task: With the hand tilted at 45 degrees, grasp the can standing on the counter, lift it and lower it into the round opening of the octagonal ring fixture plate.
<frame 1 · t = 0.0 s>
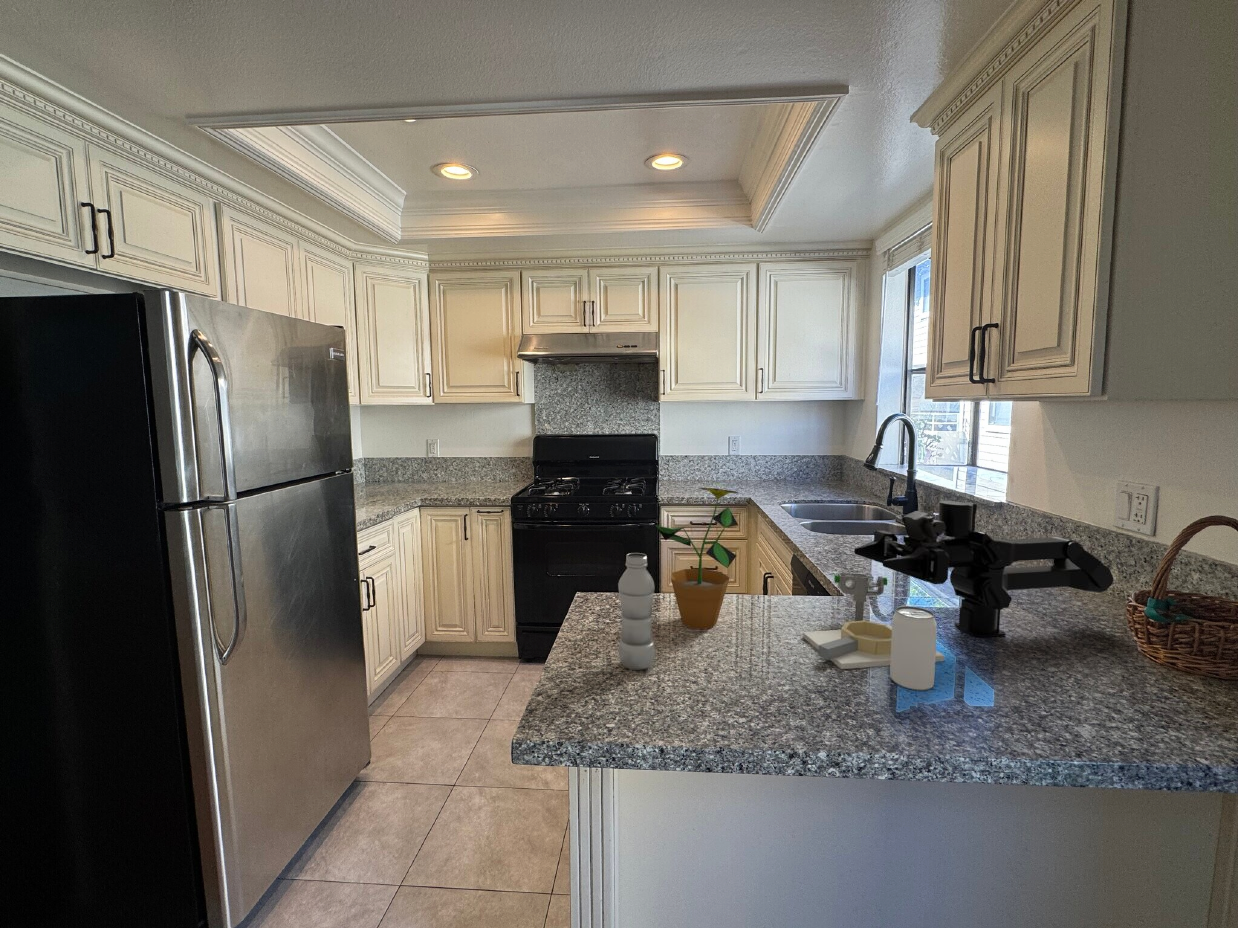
hand: (868, 557, 106), 17 cm above the countertop, tool horizontal, fingers open, 9 cm apart
potted plant: (699, 622, 117), on the countertop
can: (911, 682, 91), on the countertop
mechanical component: (858, 621, 117), on the countertop
plastic bottle: (636, 666, 97), on the countertop
octagonal ring fixture plate: (869, 648, 104), on the countertop
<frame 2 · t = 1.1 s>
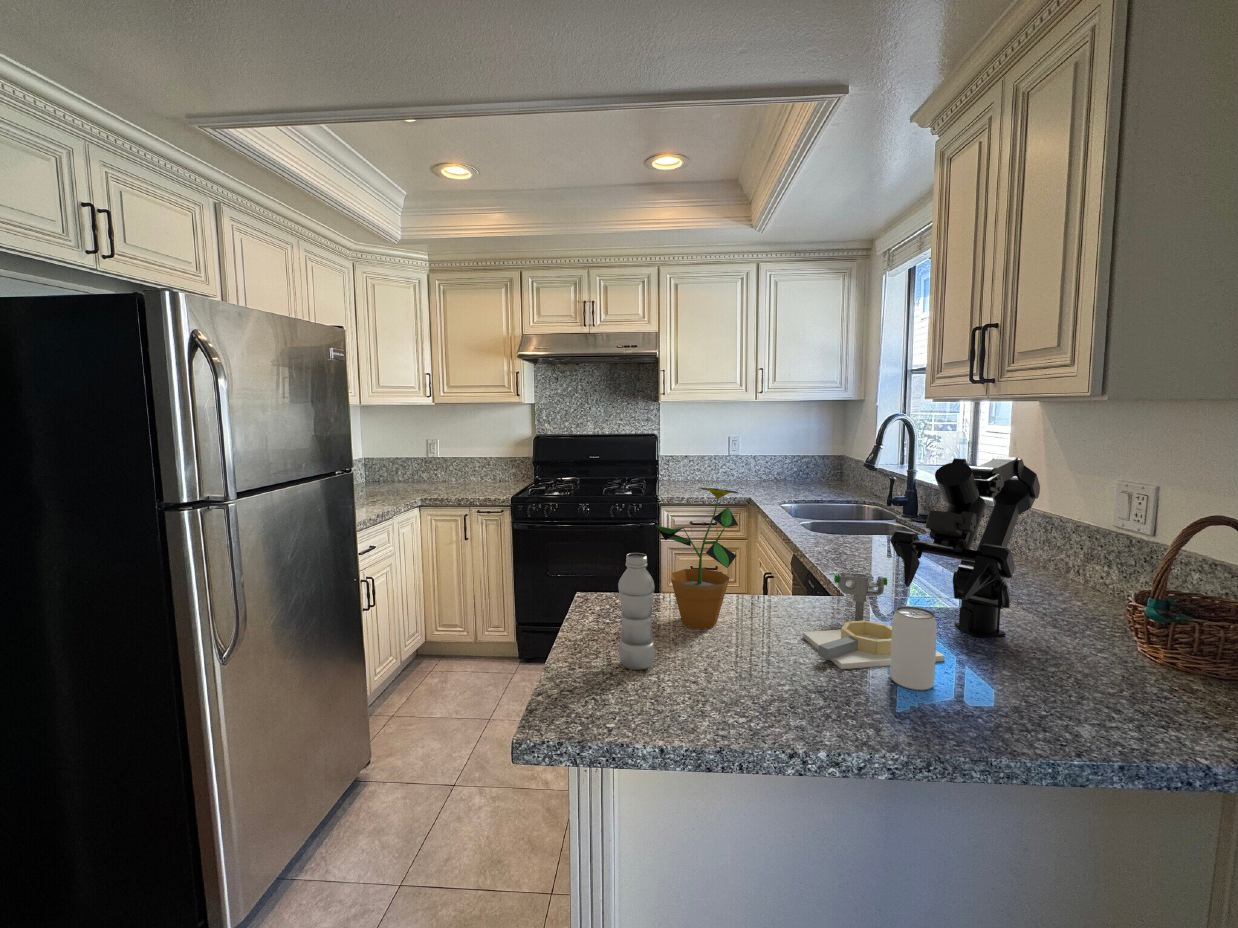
hand: (934, 591, 95), 14 cm above the countertop, tool tilted 45°, fingers open, 9 cm apart
nothing on the countertop moved.
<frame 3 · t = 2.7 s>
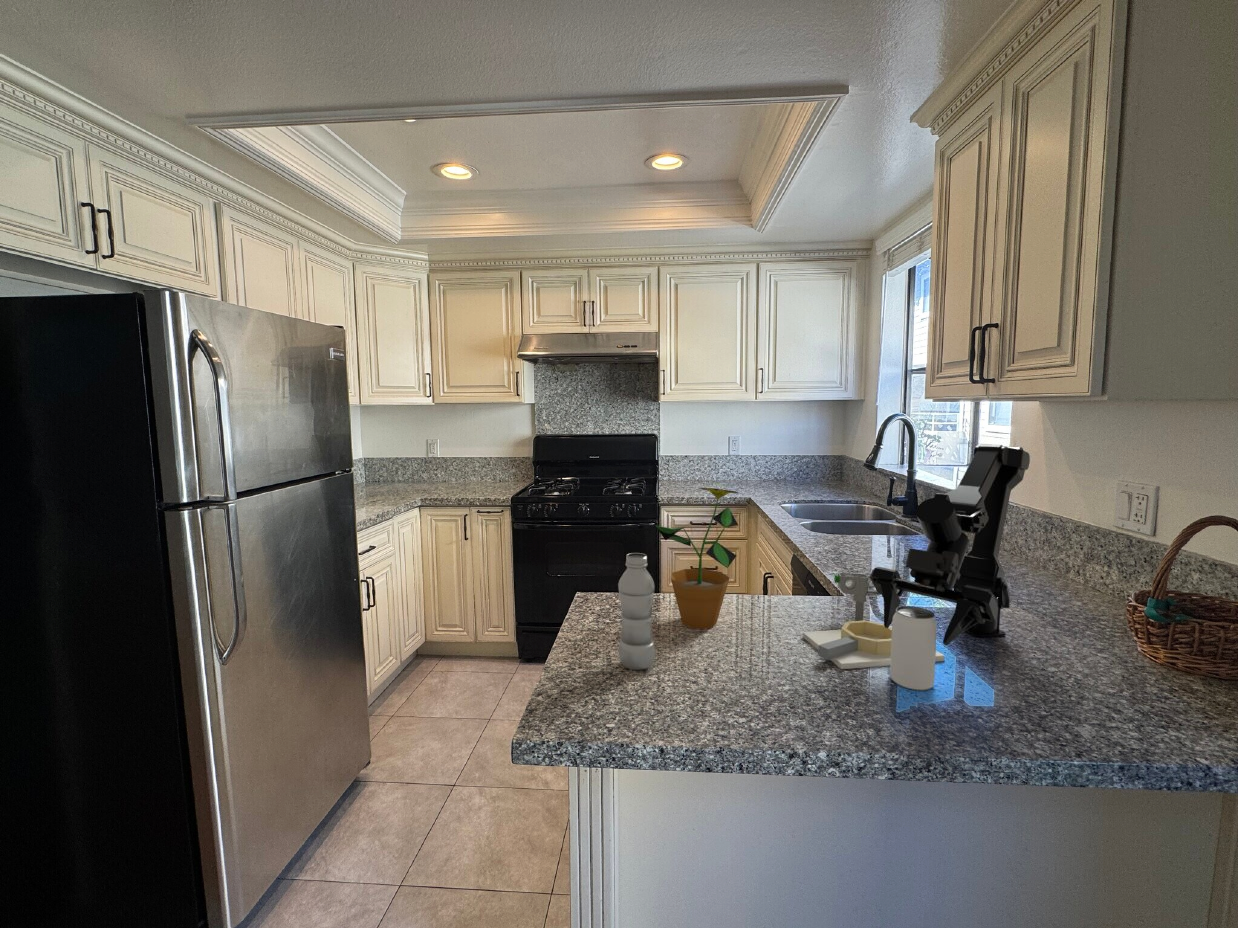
hand: (914, 635, 90), 8 cm above the countertop, tool tilted 45°, fingers open, 9 cm apart
nothing on the countertop moved.
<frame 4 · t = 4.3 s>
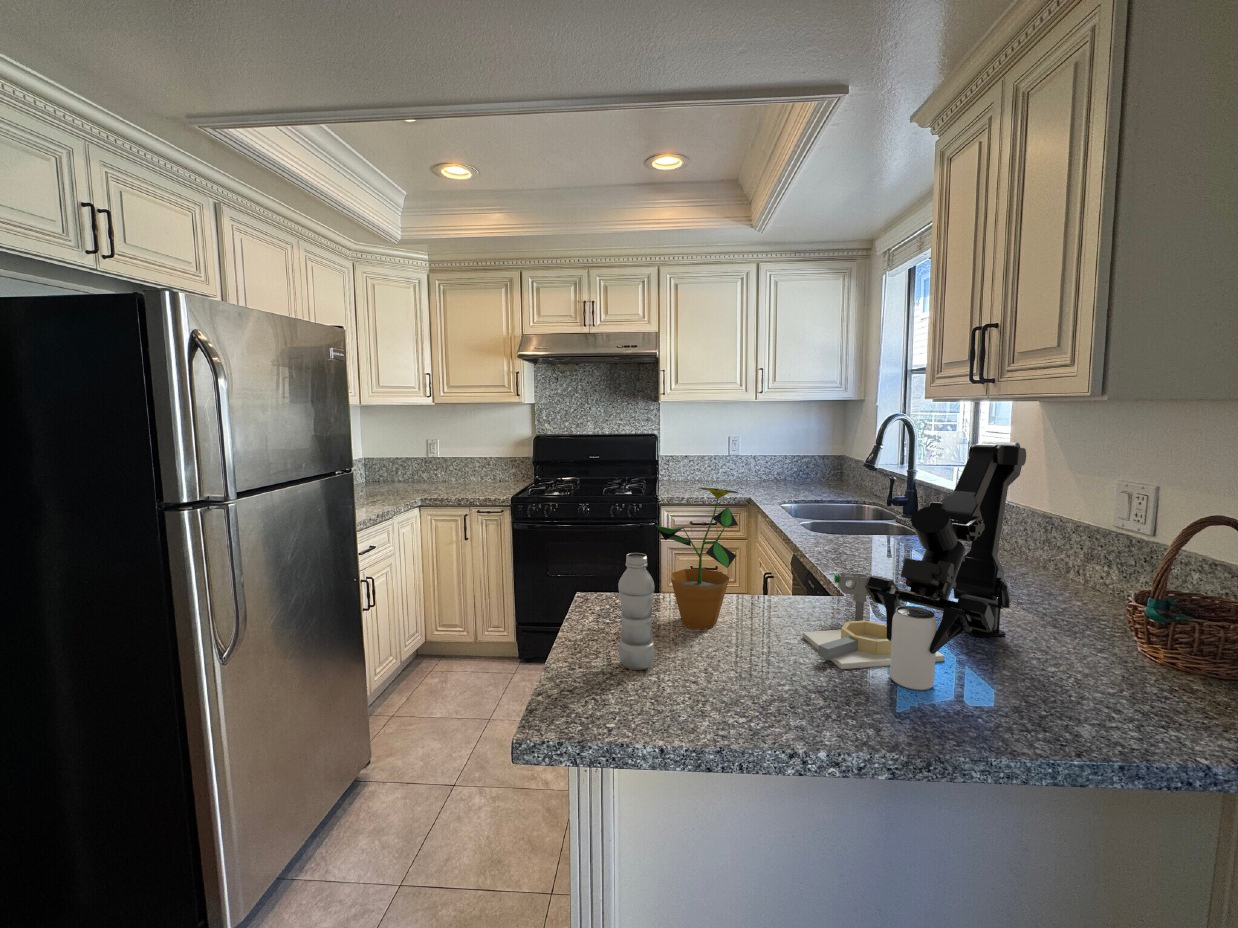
hand: (909, 645, 89), 7 cm above the countertop, tool tilted 45°, fingers closed on can, 6 cm apart
can: (911, 682, 91), on the countertop, touching gripper
everything else where it was.
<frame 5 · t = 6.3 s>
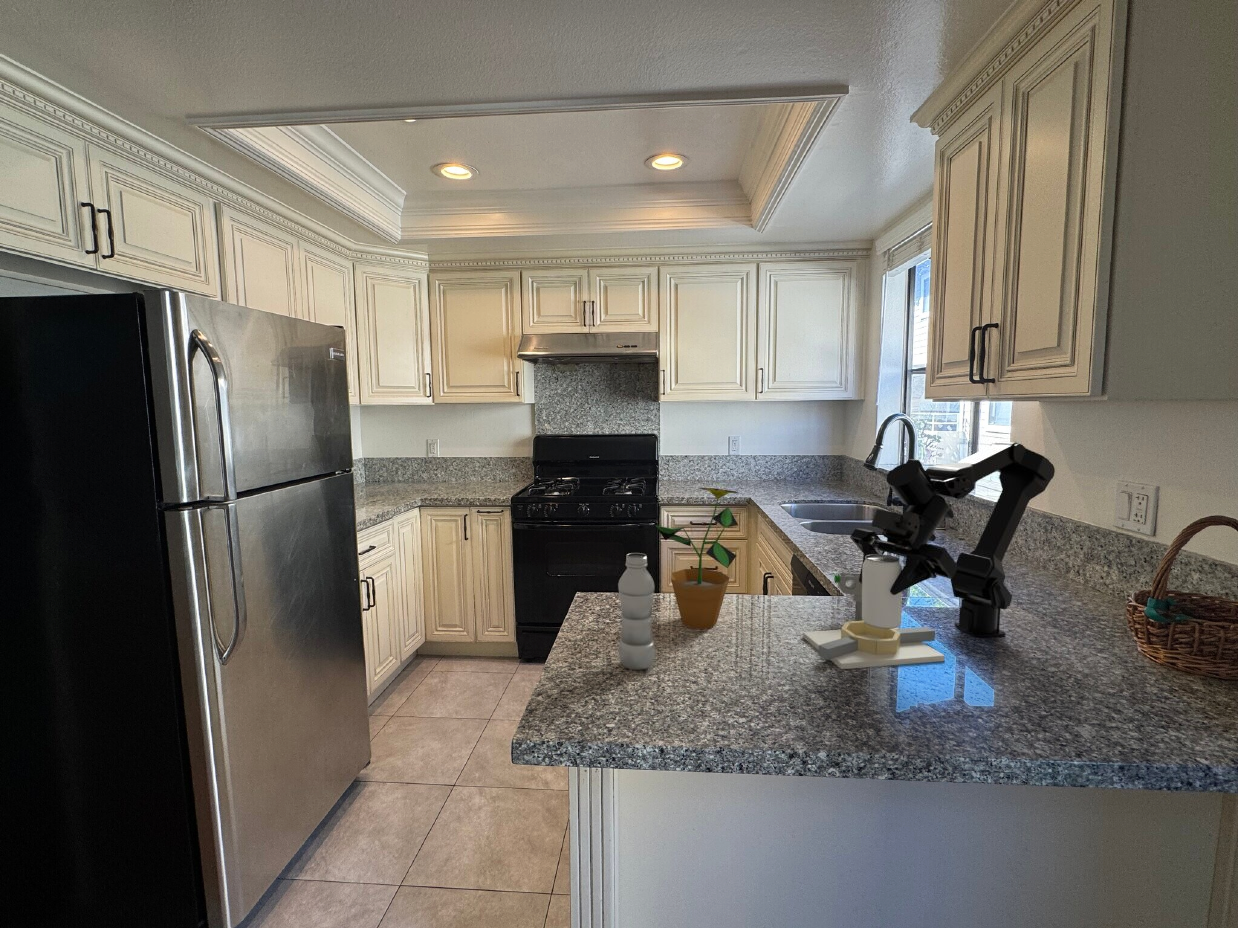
hand: (875, 587, 98), 13 cm above the countertop, tool tilted 45°, fingers closed on can, 6 cm apart
can: (881, 623, 99), point 6 cm above the countertop, touching gripper
everything else where it was.
when the fingers open (9 cm above the countertop, at t = 8.6 s): can drops 1 cm, resting on octagonal ring fixture plate.
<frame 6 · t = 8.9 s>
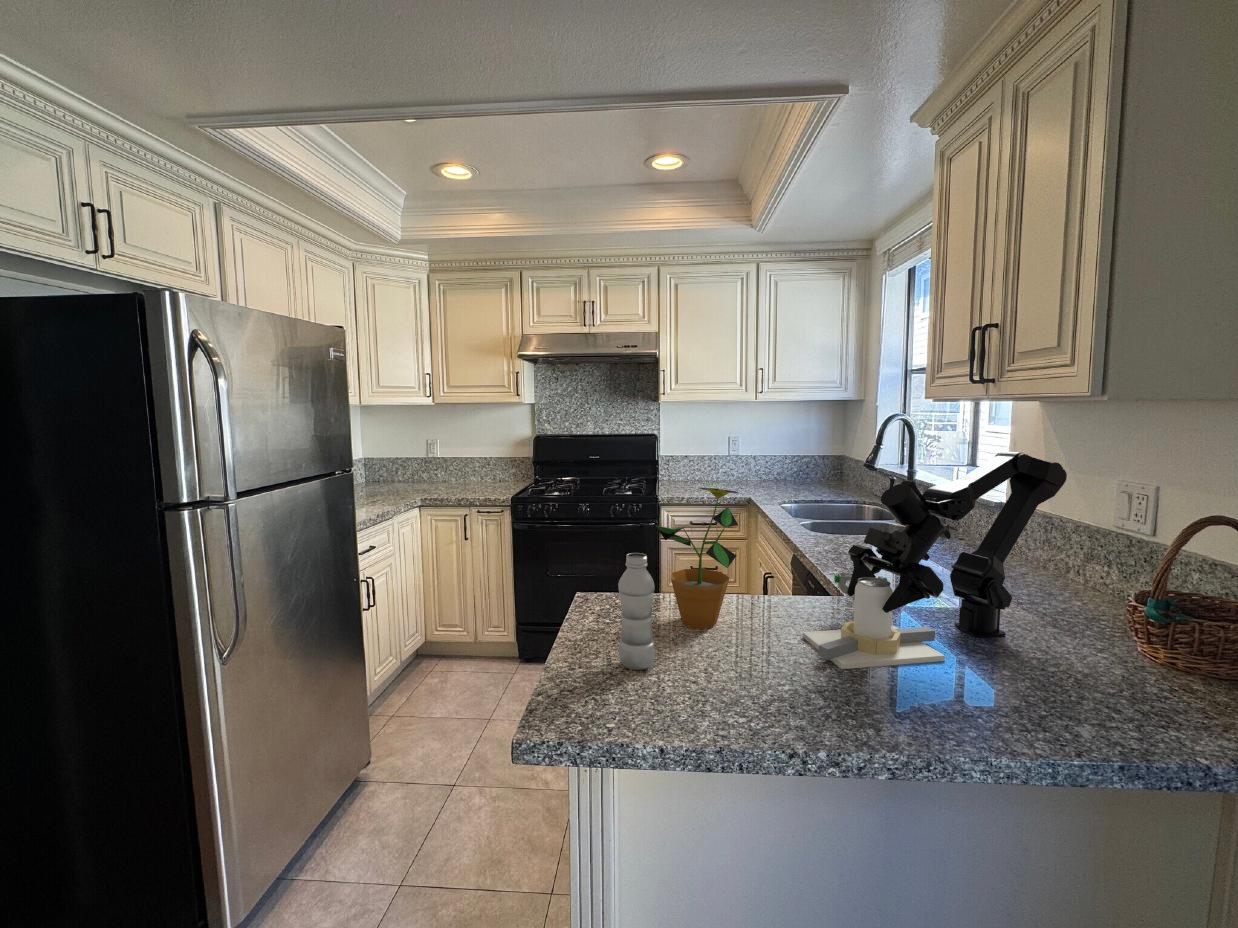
hand: (865, 602, 102), 9 cm above the countertop, tool tilted 45°, fingers open, 9 cm apart
can: (871, 644, 103), point 1 cm above the countertop, touching octagonal ring fixture plate
everything else where it was.
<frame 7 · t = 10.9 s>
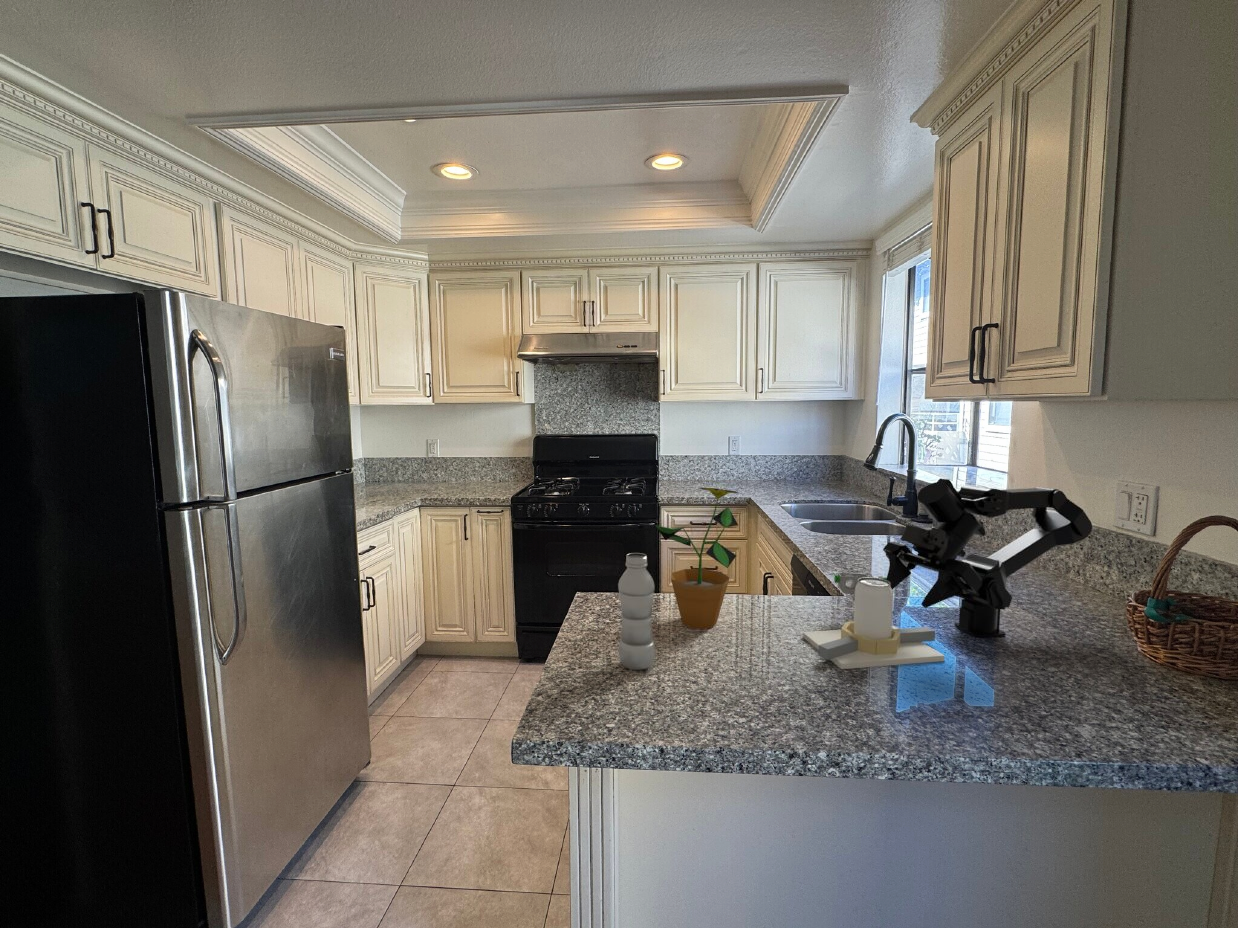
hand: (903, 598, 105), 9 cm above the countertop, tool tilted 45°, fingers open, 9 cm apart
nothing on the countertop moved.
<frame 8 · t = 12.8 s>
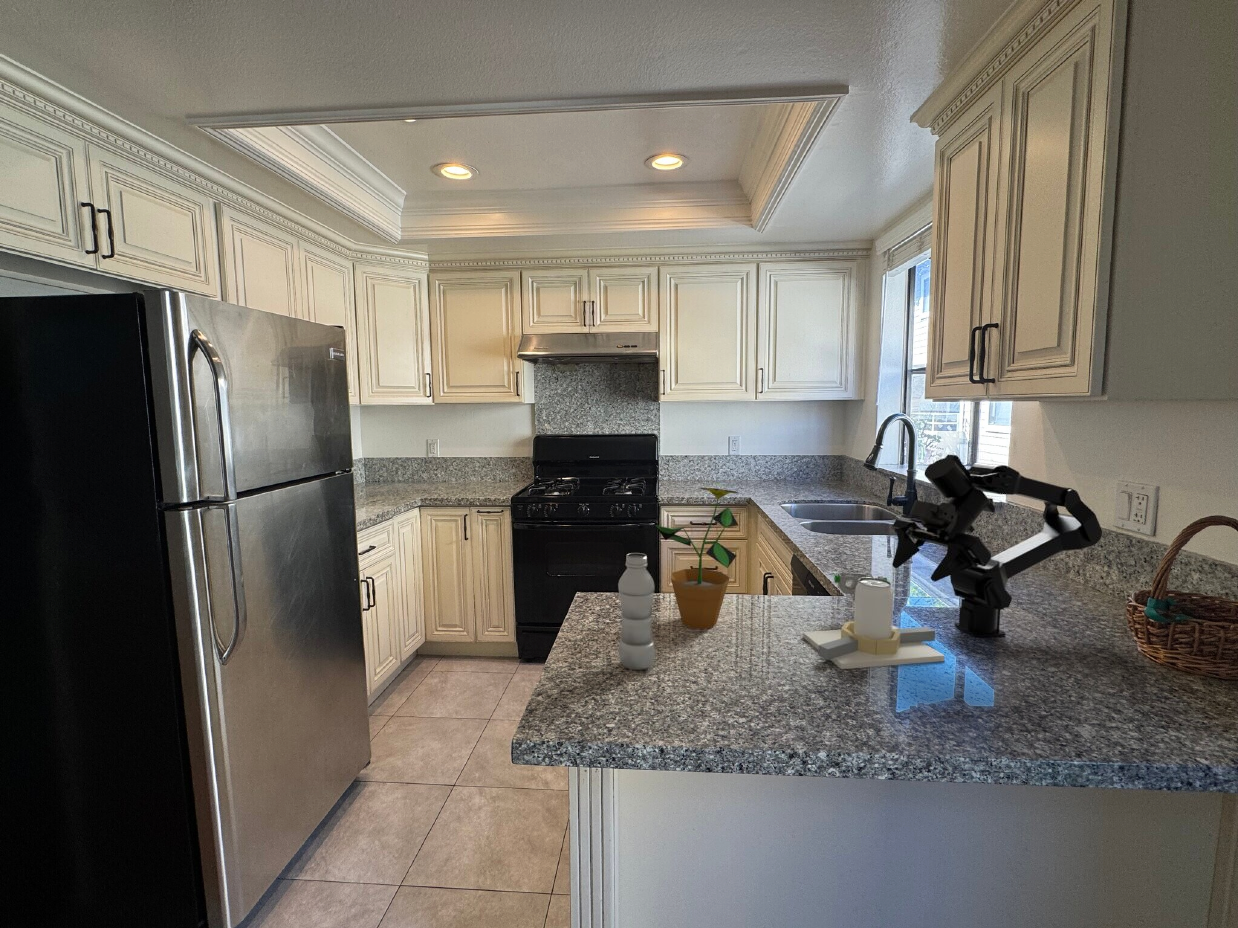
hand: (912, 573, 106), 14 cm above the countertop, tool tilted 45°, fingers open, 9 cm apart
nothing on the countertop moved.
at the end: can 0.4 cm off-centre on the octagonal ring fixture plate, point 0.8 cm above the octagonal ring fixture plate's base; can tilted 0°; the gripper is holding nothing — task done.
